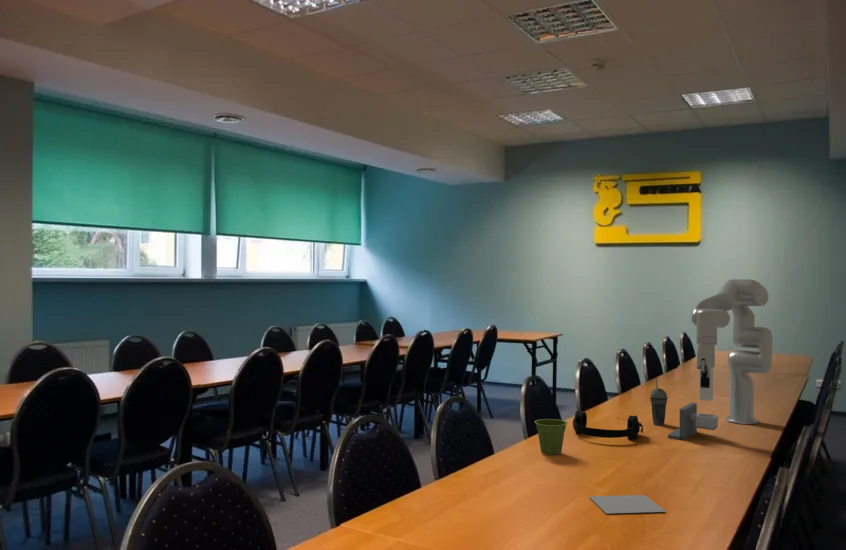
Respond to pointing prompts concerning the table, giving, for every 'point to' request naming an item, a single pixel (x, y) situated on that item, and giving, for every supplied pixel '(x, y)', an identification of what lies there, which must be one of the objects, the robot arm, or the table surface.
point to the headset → (581, 428)
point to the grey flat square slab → (626, 504)
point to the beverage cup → (658, 405)
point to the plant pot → (551, 435)
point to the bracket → (693, 422)
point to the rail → (707, 392)
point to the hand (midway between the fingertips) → (706, 386)
